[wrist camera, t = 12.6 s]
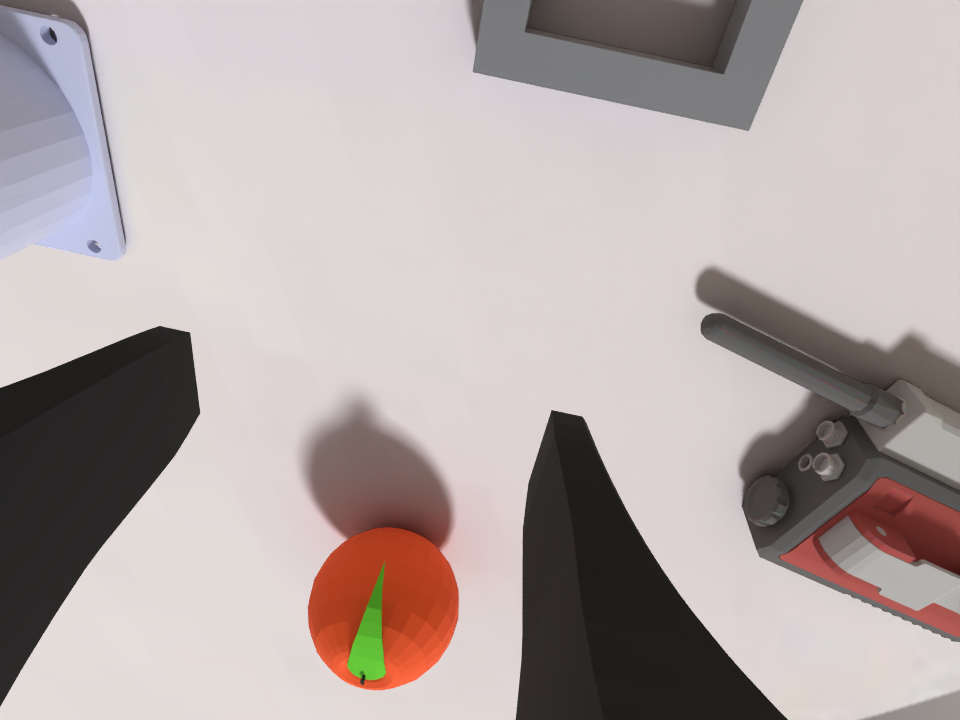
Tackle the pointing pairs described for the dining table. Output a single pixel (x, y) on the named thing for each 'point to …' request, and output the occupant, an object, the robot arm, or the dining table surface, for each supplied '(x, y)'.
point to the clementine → (383, 608)
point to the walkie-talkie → (862, 490)
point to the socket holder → (643, 63)
